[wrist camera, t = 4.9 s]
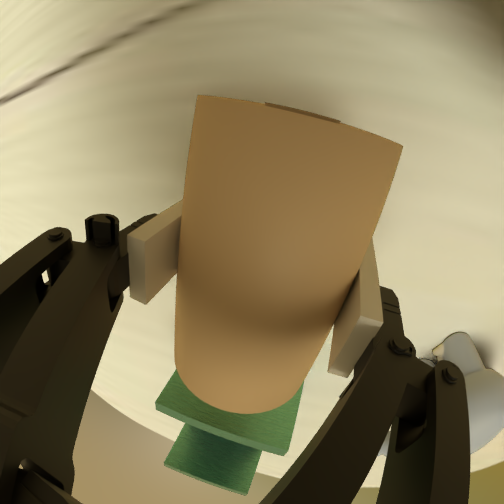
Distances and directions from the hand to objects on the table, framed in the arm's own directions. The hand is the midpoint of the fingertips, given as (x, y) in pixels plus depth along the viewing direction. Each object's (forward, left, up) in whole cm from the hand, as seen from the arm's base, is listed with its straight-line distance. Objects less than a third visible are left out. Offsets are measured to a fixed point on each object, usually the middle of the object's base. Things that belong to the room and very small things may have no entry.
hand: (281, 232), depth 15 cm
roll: (0, 0, 0) cm, 0 cm away
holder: (+22, 0, -5) cm, 22 cm away
